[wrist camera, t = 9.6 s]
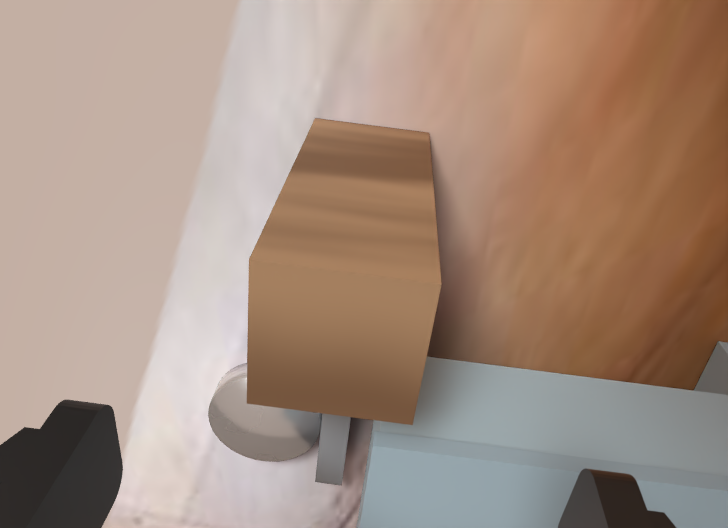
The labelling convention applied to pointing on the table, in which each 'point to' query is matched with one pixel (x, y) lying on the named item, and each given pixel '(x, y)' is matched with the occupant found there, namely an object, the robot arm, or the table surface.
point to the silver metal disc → (259, 423)
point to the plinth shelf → (546, 447)
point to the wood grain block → (346, 283)
